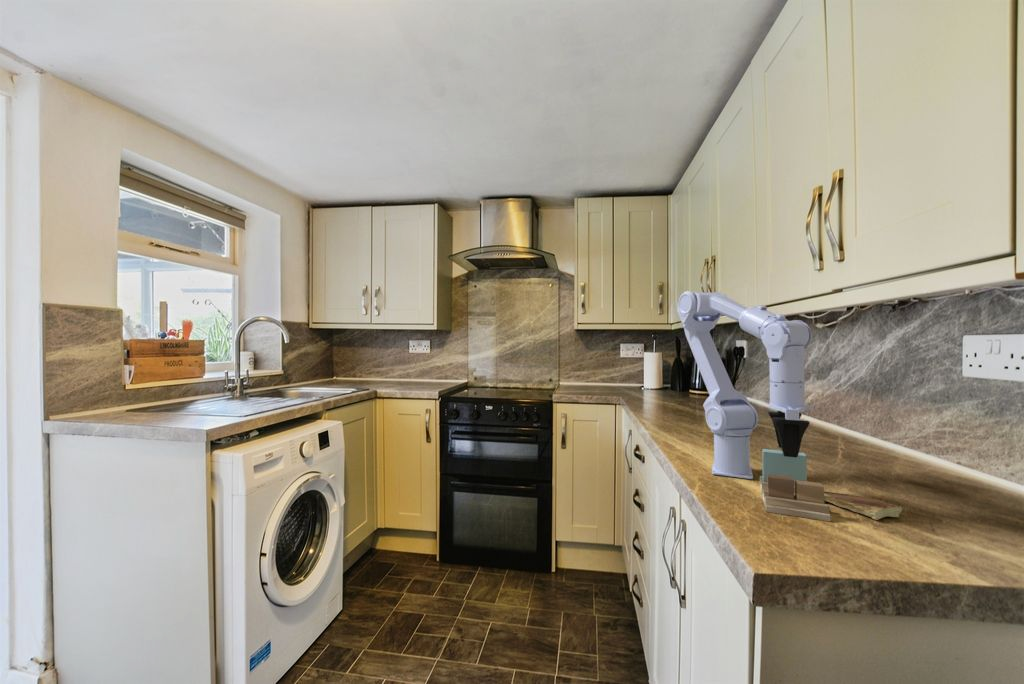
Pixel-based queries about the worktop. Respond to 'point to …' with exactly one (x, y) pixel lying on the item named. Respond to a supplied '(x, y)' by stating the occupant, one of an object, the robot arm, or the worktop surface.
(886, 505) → the shard
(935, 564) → the worktop surface
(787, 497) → the walnut offcut
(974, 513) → the worktop surface
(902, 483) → the worktop surface
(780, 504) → the birch rack
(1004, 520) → the worktop surface
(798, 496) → the oak offcut
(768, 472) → the teal panel
